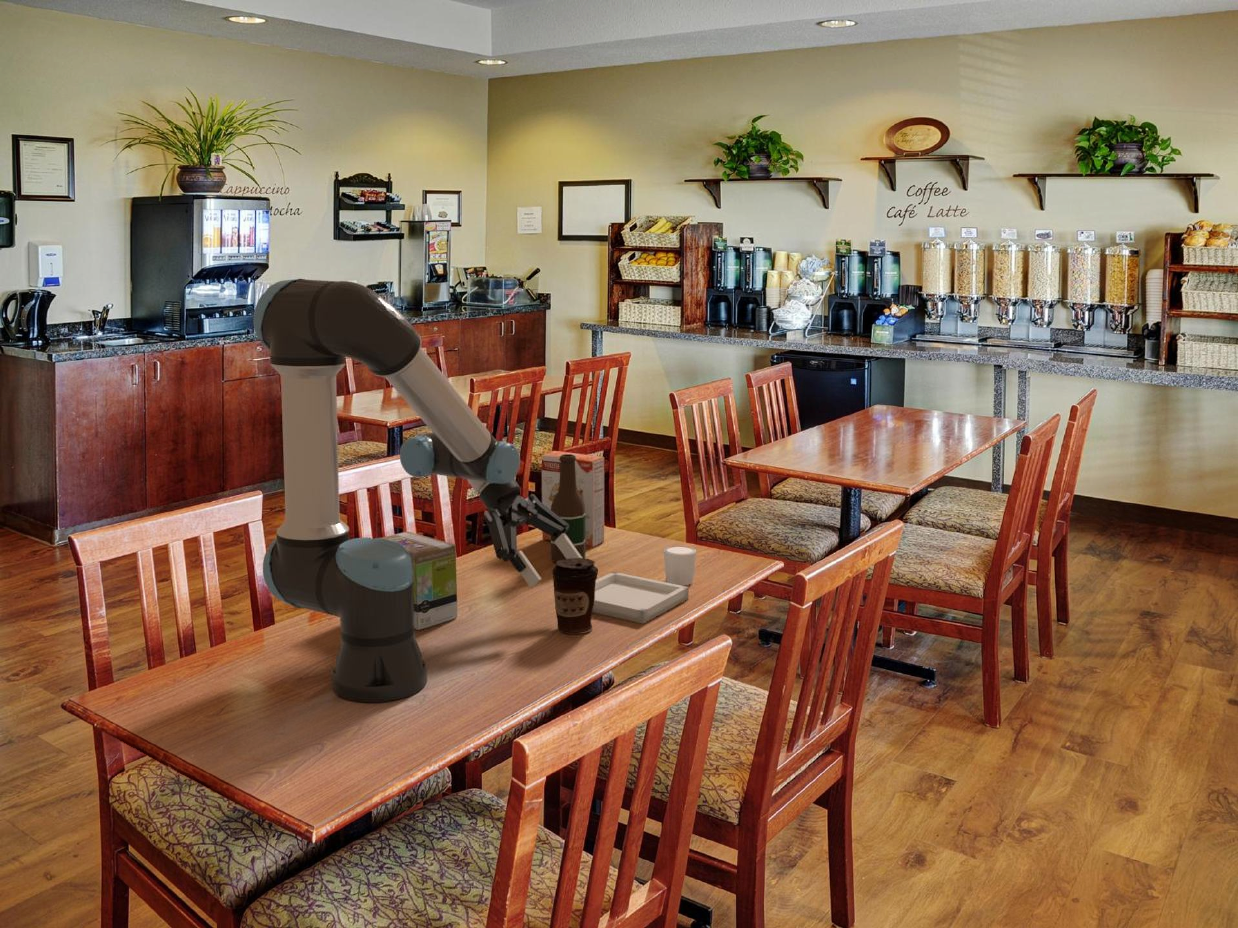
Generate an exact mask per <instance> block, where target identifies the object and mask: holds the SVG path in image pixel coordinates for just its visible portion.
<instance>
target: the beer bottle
mask: <svg viewBox="0 0 1238 928" xmlns="http://www.w3.org/2000/svg"><path fill="white" fill-rule="evenodd" d="M559 461H560V462H561V464H560V482H559V490H558V493H557V494H556V496H555V498H554V499H553V502H552V505H551V511H553V512H554V513H555V514H556V515H558V516H559V517H560V518H561V519H563V520H564V521H565V522H567V523H568V524H569V528H568V530H567V531H566V534H567V536H568V537H569V538H570V540H571V541H572V543H573V544H574V546H575V548H576V550H577V551H578V552H579V554H580V555H581V556H582V558H586V550H587V549H586V548H587V547H586V526H585V503H584V501H583V498H582V496H581V495H580V493H579V492H578V490H577V484H576V470H575V461H576V457H575V456H574V455H572V454H564V455H561V456H560V459H559ZM560 526H561V525H560ZM555 532H556V531H555ZM555 540H556V539H555V538H554V537H552V536H551V541H550V558H551V559H550V560H551V562H552V563H554V564H556V562H557V561H559V560H566V557H565V556H564V555H563V553H562V552H561V550H560V549H559V548H558V546H557V545H556V544H555V542H554V541H555Z"/></svg>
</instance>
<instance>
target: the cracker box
mask: <svg viewBox="0 0 1238 928" xmlns="http://www.w3.org/2000/svg"><path fill="white" fill-rule="evenodd" d="M564 454H572V455H574V456H575V457H576V461H575V470H576V484H577V490H578V492H579V493H580V495H581V496H582V498H583V501H584V503H585V526H586V548H591V549H593V548H595V547H597V546H598V545H600V544H602V543H605V457H604V456H597V455H590V454H583V453H574V452H568V451H567V452H566V451H560V450H559V451H557V450H552V451H550V452H549V451H548V452H546V453H544V454H542V455H541V503H542V504H544V505H545V506H546V507H547V508H549V509H550V510H551V505H552V502H553V499H554V498H555V496H556V494H557V493H558V490H559V482H560V464H561V462H560V461H559V459H560V456H561V455H564ZM541 532H542V535H541V536H542V538H541V539H542V540H546V541H550V542H551V536H550V535H548V534H546V533H545V532H543V531H541Z"/></svg>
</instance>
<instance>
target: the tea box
mask: <svg viewBox="0 0 1238 928" xmlns="http://www.w3.org/2000/svg"><path fill="white" fill-rule="evenodd" d="M381 538H382V539H387V540H390V541H394V542H396V543H398V544H400V545H402V546H403V547H405V548H406V549H407V551H408V552H409V554H410V557H411V564H412V570H413V576H414V578H413V591H414V630H417V631H419V630H423V629H427V628H430V627H434V626H437V625H440V624H443V623H445V622H446V623H447V622H450V621H452V620H454V619H457V618H458V587H457V586H458V584H457V581H458V580H457V552H456V551H457V549H456V548H457V547H456V544H455V543H450V542H448V541H443V540H439V539H436V538H433V537H430V536H425V535H422V534H418V533H416V532H411V531H404V532H399V533H395V534H391V535H388V536H383V537H381Z"/></svg>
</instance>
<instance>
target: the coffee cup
mask: <svg viewBox="0 0 1238 928" xmlns="http://www.w3.org/2000/svg"><path fill="white" fill-rule="evenodd" d="M595 563H596V561H594V560H593V559H592V560H591V559H589V558H586V557H585V558H569V559H566V560H559V561H557V562H556V563H555V565H554V567H553V569H552V571H551V573H552V581H553V596H554V607H555V614H556V615H555V616H556V619H557V620H556V621H557V625H556V626H557V630H558V631H560V632H561V633H565V634H569V635H571V634H573V635H577V634H578V635H579V634H580V635H581V634H586V633H590V632H591V631H592V630H593V625H592V615H593V612H592V610H593V606H594V600H595V584H596V580H597V579H598V574H599V568H598V567H597V566H595V565H594V564H595Z"/></svg>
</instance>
